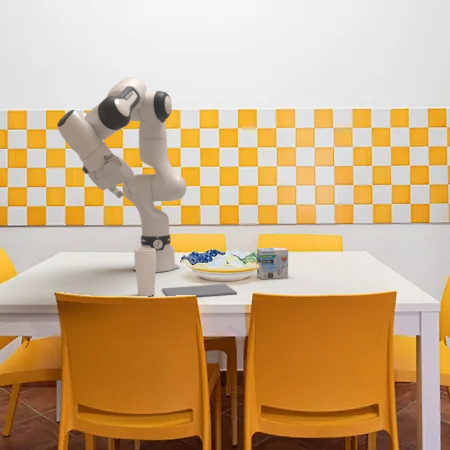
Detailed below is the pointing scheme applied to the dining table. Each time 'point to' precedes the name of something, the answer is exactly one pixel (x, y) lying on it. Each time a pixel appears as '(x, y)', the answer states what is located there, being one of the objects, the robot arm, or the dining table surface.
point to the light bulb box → (272, 263)
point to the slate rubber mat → (200, 290)
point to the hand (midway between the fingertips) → (127, 194)
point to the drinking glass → (145, 270)
